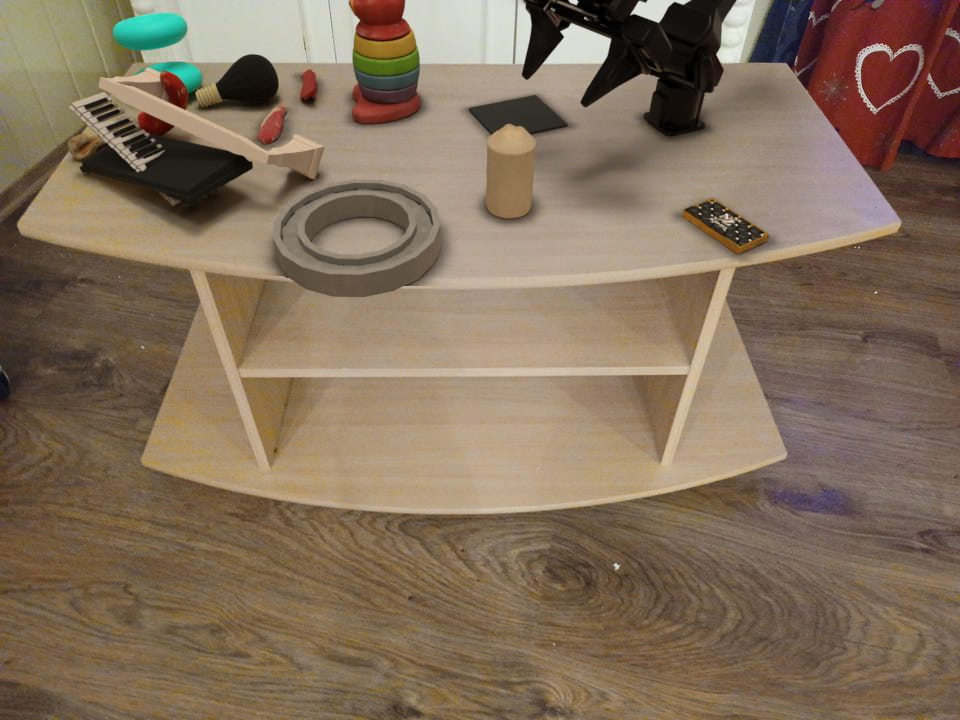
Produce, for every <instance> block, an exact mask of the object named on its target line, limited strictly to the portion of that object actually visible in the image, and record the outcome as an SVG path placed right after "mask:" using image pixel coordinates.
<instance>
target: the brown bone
mask: <svg viewBox="0 0 960 720" xmlns="http://www.w3.org/2000/svg"><path fill="white" fill-rule="evenodd" d="M139 114H140V113H138V114H137V115H134V116H132V117H131V118H132V119H133V122H132V123H130V124H128V125H125V126H123V127H120V128H118V129H116V130H114V131H115V132H116V131H118V130H121V129H123V128H126V127H128V126H130V125H133V124H134V125H135V124H138V125H139V121H138V116H139ZM103 138H104V137H103ZM105 144H107V143H106V142H105V141H104V140H103V139H102V138H100V137H99V136H98V135H97V133H96V134H94V135H92V136H89V135H88V134H85V133H81V134H76V135H75V136H73V137H71V138H69V140H68V141H67V149H68V151H69V153H70V155H71V156H72V157H73V158H75V159H76V160H79V161H80V160H81V161H82V160H84V159H85V160H86V159H88V158H90V157H91V156H92V155H93V153H95V152H96V151H97V150H98V147H100V146H102V145H105Z"/></svg>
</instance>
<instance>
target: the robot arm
mask: <svg viewBox="0 0 960 720" xmlns="http://www.w3.org/2000/svg"><path fill="white" fill-rule="evenodd" d="M522 1H523V3H524V4H525V6H524V8H525V10H526V12H527V13H528V14H529V17H530V25H531V26H530V34H529V41H528V45H527V49H526V53H525V58H524V62H523V67H522V71H521V77H522V78H523V79H524V80H526V81H529V80H530V79H531V78H532V77H533V76H534V75H535V73H537V71H538V70H540V68H541V67H542V66H543V64H544V63H545V62H546V61H547V59H548V58H549V57H550V55H551V54H552V53H553V52H554V51H555V49H556V48H557V47H558V46H559V45H560V44H561V42H562V41H563V40H564V39H565V36H564V34H563V33H562V31H565V30H566V29H569V28H570V26H571V24H573V25H575V26H577V27H580V28H582V29H585V30H587V31H590V32H592V33H596V34H597V35H599V36H600V35H601V36H603V37H605V38H608V39H610V42H609V43H610V44H609V46H608V52H607V55H606V57H605V59H604V61H602V64H601V66H600V67H599V69H598V70H597V72H596V73H595V75H594V76H593V78H592V80H591V81H590V83H589V84H588V86H587V88H586V90H585V92H584V93H583V96H582V97H581V100H580V105H581V106H582V107H583V108H588V107H590V106H591V105H592V104H594V103H596V102H597V101H599V100H600V99H602V98H603V97H605V96H607V95H608V94H609V93H611V92H612V91H614V90H615V89H617V88H618V87H620V86H622V85H623V84H625V83H628V82H629V81H631V80H633V79H635V78H636V77H637V78H638V77H639V76H640V75H645V76H648V75H649V76H651V77H652V76H653V77H655V78H657V79H656V85H655V90H654V91H653V92H652V95H651V100H650V105H649V111H646V112H644V113H643V118H644V119H645V120H646V121H648V122H649V123H650V124H652V125H653V126H654V127H656V128H657V130H660V131H661V132H662V133H663V134H664V135H665V136H675V135H678V134H682V133H687V132H692V131H697V130H702V129H704V128H706V123H705V122H704V121H703V120H702V119H700V116H701V114H702V113H701V112H702V108H703V104H704V100H705V96H706V94H712V93H714V91H715V88H716V87H718V86H719V84H720V81H721V80H722V76H723V75H724V71H725V70H724V69H725V68H724V67H723V65H722V63H721V60H720V59H719V57H718V55H717V54H718V53H719V51H720V50H721V46H722V33H723V23H724V21H725V19H726V17H728V15H729V14H730V12H731V10H732V8H733V7H734V6H735V4H736V2H737V1H738V0H689V1H687V2H686V3H684V4H683V3H680V2H676V1H673V2H672V3H671V4H670V5H669V6H668V7H667V9H665V10H666V11H665V12H664V14H663V16H662V18H661V19H660V20H659V22H658V21H655V20H652V19H649V18H648V17H644V16H641V15H639V14H636V13H633V12H634V10H635V8H636V7H637V5H638V4H639V2H641V3H644V4H646V3H648V0H576V1H577V3H576V4H575V3H572V2H571V1H570V0H522Z"/></svg>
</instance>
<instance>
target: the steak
mask: <svg viewBox="0 0 960 720" xmlns="http://www.w3.org/2000/svg"><path fill="white" fill-rule="evenodd" d="M286 113H287V107H286V105H285V104H281V105H278V106H276V107H275V106H274V107H273V108H272V109H271V111H270V112H269V113H268V114H267V115H266V116H265V117H264V119H263V121H262V122H261V124H260V130H259V132H258V133H257V135H256V137H257V141H260V142H261V144H264V145H266V144H270V143H273V142H274V141H275V140H277V139H278V138H279V137H280V135H281V133H282V130H283V125H284V116H285V114H286Z"/></svg>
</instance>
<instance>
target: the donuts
mask: <svg viewBox="0 0 960 720" xmlns="http://www.w3.org/2000/svg"><path fill="white" fill-rule="evenodd" d="M188 29H189V27H188V23H187V21H186V19H185V18H184V17H183V16H182V15H180V14H177V13H173V12H157V13H156V12H155V13H150V14H149V13H148V14H143V15H137V16H133V17H129V18H125V19H123V20H121V21H118V22H117V23H116V24H115V25H114V26H113V28H112V36H113V38H114V40H115V42H116V43H117V44H118V45H119V46H121V47H122V48H125V49H128V50H131V51H141V52H143V51H153V50H160V49H164V48H167V47H168V48H169V47H171V46H173V45H176V44H178V43H180V42H182V40H183V39H184V38H185V36H186V35H187V34H188ZM146 68H151V69H154V70H156V71H158V72H160V73H161V72H162V71H168V72H170V73H173V74H175V75H177V76H178V77H179V78H180V79H181V80H182V82H183V83H184V84H185V86H186V88H187V91H188V94H190V93H193V92H194V91H197V89H199V88H201V86H202V83H203V81H204V78H203V73H202V71H201V70H200V69H199V68H198V67H197V66H195V65H194V64H192V63H190V62H185V61H177V60H176V61H165V62H159V63H155V64H151V65H148V66H146V67H143V68H141V69H140V70H138V71H137V72H135V74H134V75H133V76H135V75H138V74H140V73H142V72H145V69H146Z"/></svg>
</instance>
